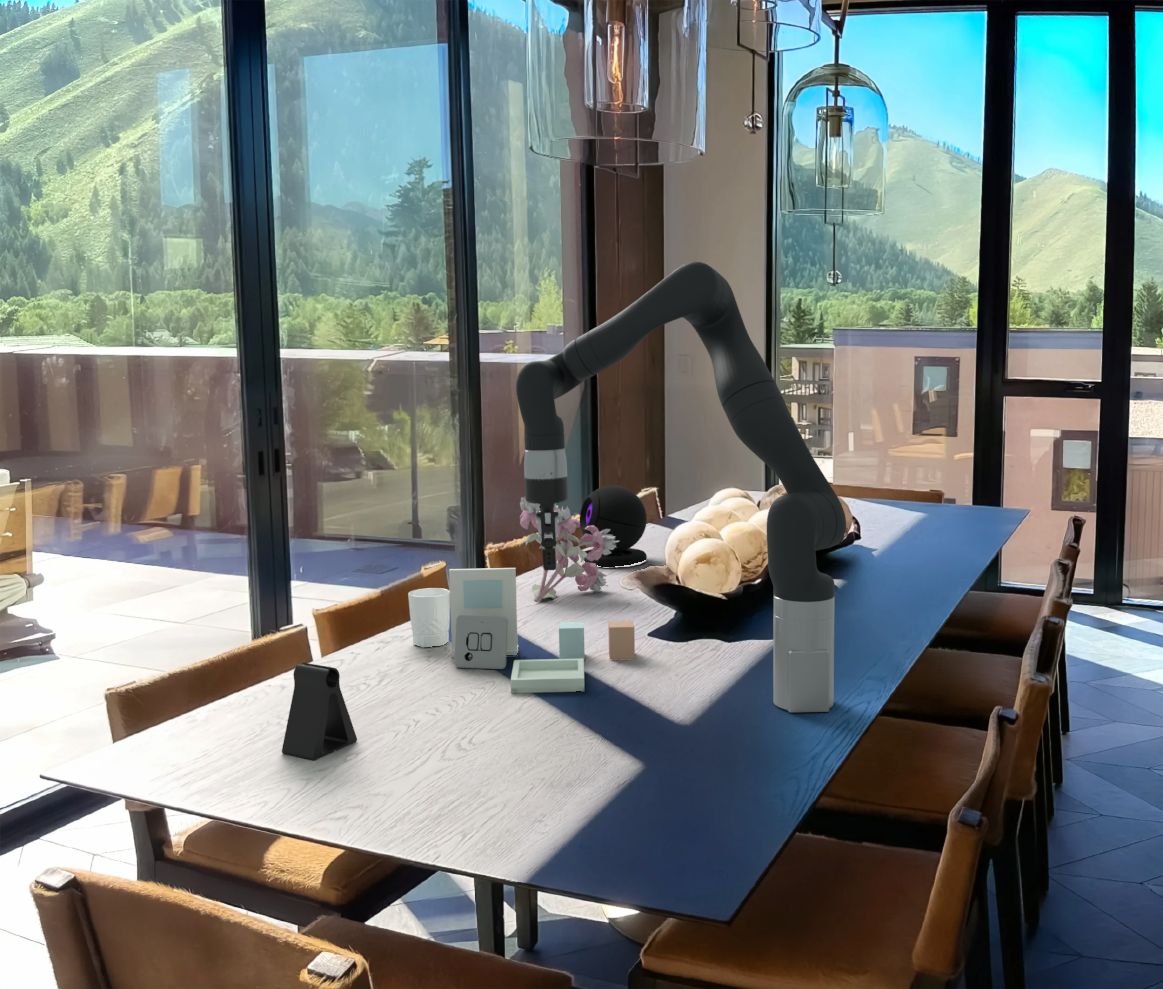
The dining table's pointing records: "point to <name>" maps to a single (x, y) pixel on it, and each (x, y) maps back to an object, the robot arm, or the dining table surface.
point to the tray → (547, 675)
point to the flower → (569, 551)
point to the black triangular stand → (317, 714)
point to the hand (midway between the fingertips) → (549, 565)
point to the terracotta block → (621, 640)
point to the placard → (485, 598)
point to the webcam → (616, 523)
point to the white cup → (430, 616)
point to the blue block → (571, 640)
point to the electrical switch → (481, 641)
